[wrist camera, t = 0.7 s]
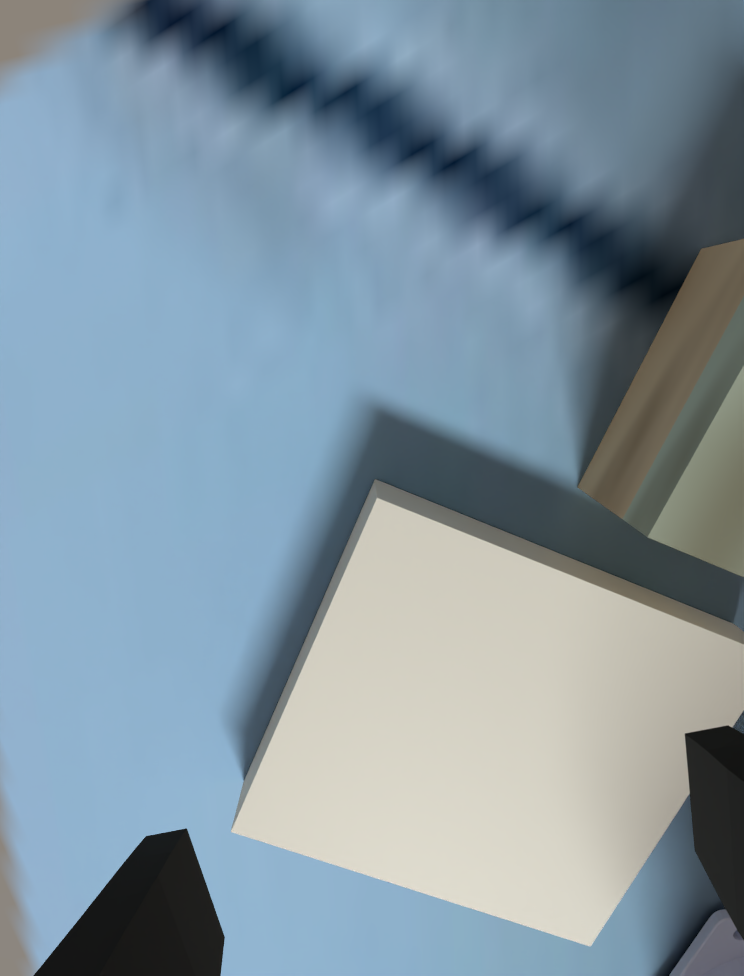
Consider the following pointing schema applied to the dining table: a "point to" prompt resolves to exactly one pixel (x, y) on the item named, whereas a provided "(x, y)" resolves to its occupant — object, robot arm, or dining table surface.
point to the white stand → (488, 720)
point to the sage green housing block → (685, 422)
